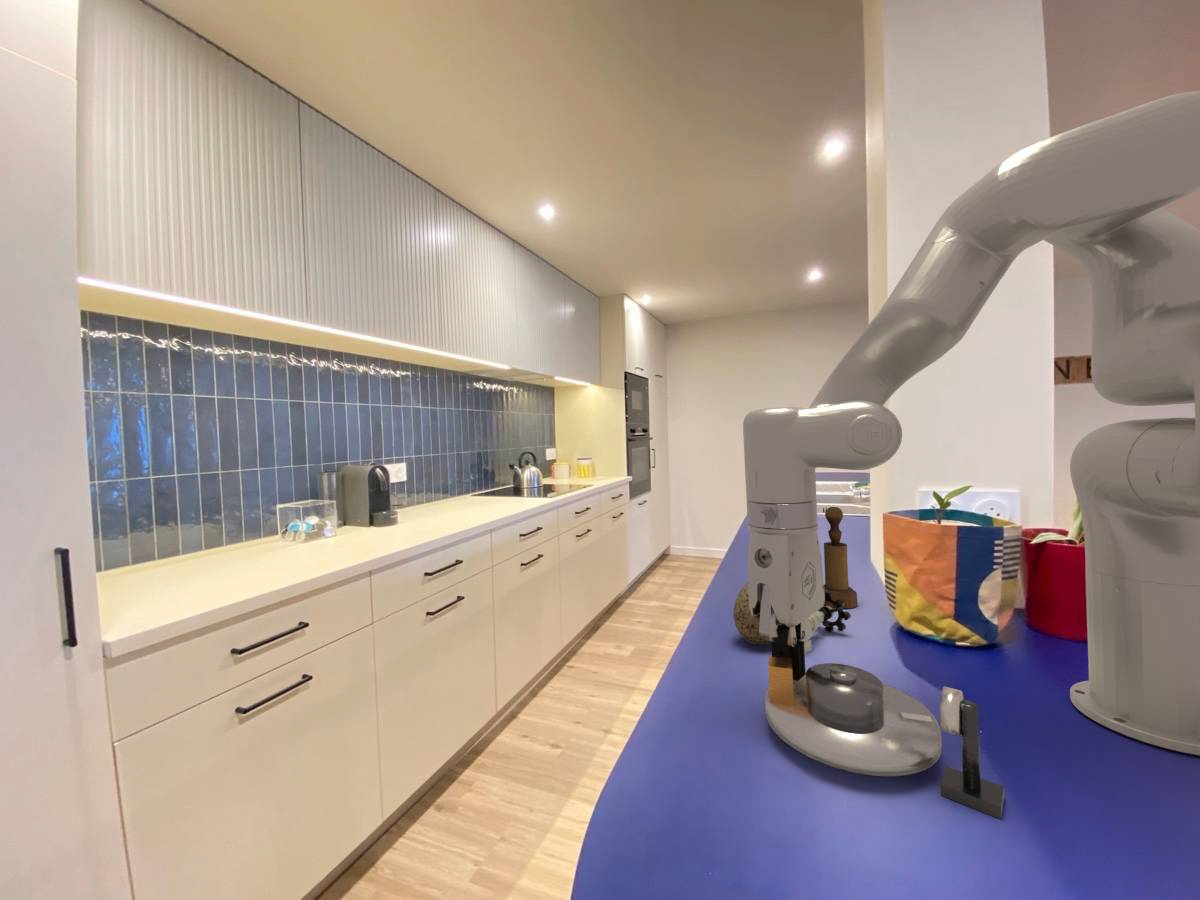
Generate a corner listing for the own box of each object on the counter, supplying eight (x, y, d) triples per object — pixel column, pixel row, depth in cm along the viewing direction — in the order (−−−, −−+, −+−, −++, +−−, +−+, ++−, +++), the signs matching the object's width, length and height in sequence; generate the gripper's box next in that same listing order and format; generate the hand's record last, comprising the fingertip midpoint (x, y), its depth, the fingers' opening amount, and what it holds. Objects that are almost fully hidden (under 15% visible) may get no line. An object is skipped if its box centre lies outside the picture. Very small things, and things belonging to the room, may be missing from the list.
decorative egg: (724, 640, 74) (722, 577, 74) (758, 630, 77) (756, 569, 77) (758, 657, 68) (755, 588, 68) (794, 646, 71) (791, 580, 71)
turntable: (916, 694, 54) (914, 646, 54) (968, 793, 39) (966, 727, 39) (767, 675, 60) (765, 632, 60) (763, 755, 45) (760, 697, 45)
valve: (811, 661, 66) (851, 637, 74) (809, 614, 66) (850, 594, 74) (769, 646, 72) (811, 625, 79) (767, 602, 72) (809, 586, 79)
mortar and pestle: (858, 600, 89) (855, 505, 89) (856, 611, 84) (852, 510, 84) (820, 595, 93) (816, 504, 93) (815, 606, 87) (811, 508, 87)
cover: (880, 702, 50) (879, 662, 50) (887, 741, 44) (886, 694, 44) (808, 690, 53) (807, 652, 53) (805, 724, 47) (803, 681, 47)
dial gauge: (1004, 796, 40) (1001, 694, 40) (1000, 821, 38) (997, 712, 38) (947, 774, 43) (943, 679, 43) (940, 797, 41) (936, 695, 41)
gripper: (784, 529, 46) (793, 715, 46) (839, 509, 57) (846, 661, 57) (717, 522, 52) (725, 689, 52) (779, 505, 62) (785, 644, 62)
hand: (788, 674), depth 54 cm, fingers closed
